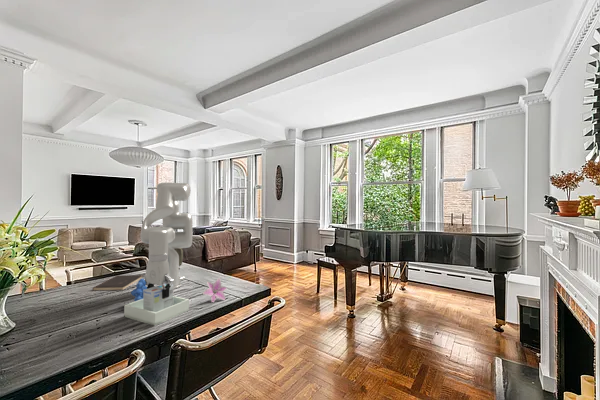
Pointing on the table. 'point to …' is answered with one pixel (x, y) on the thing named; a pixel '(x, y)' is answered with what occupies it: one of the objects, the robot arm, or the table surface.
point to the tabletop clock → (180, 253)
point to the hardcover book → (118, 282)
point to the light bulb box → (157, 298)
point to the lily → (215, 290)
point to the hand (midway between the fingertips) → (158, 295)
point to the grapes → (139, 290)
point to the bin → (155, 318)
